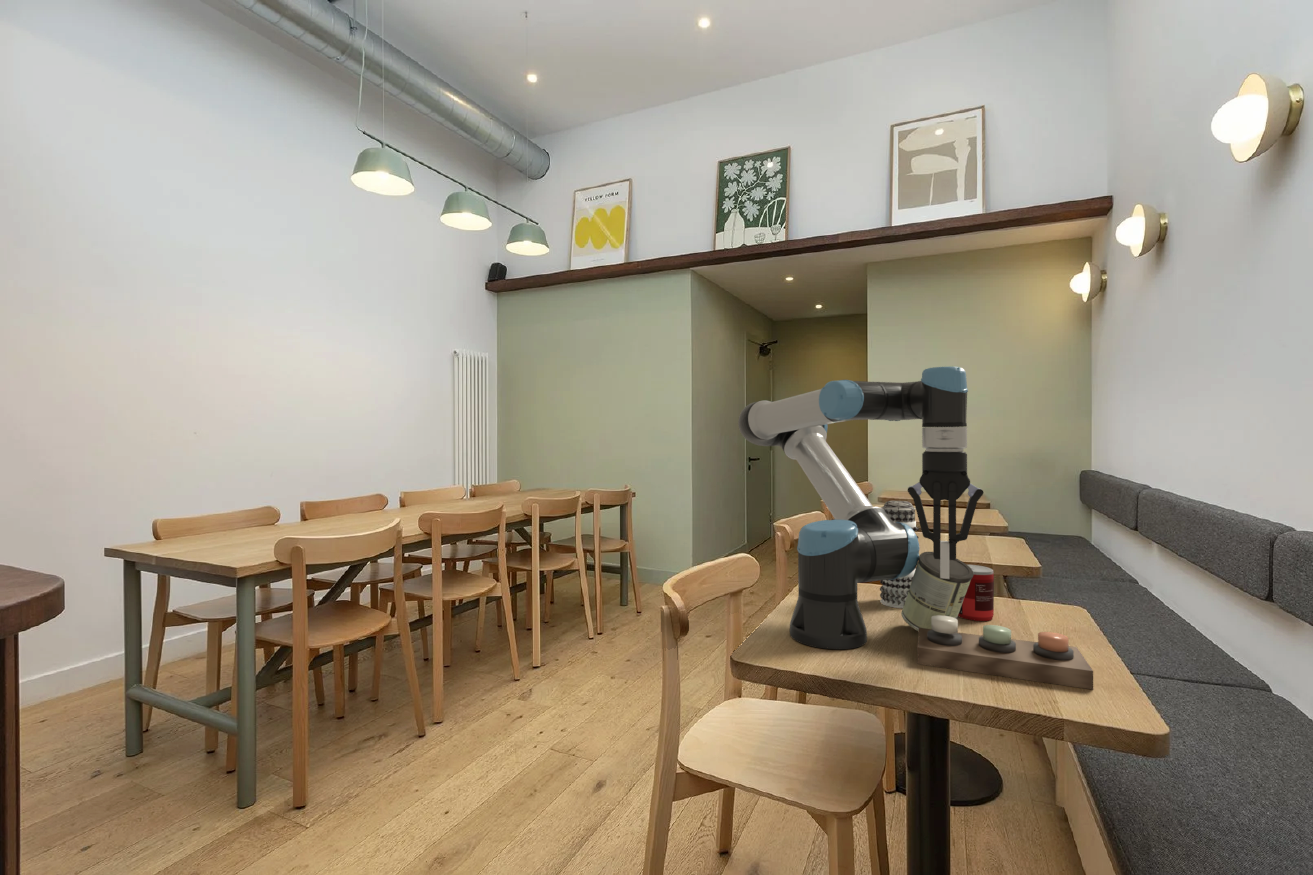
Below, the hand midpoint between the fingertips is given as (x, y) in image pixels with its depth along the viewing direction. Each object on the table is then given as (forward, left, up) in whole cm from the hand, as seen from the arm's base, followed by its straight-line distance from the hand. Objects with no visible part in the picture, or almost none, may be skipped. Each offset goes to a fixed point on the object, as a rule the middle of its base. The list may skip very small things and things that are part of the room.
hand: (944, 576), depth 110 cm
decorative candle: (-10, +34, -15) cm, 38 cm away
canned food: (+6, +30, -15) cm, 34 cm away
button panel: (+8, 0, -15) cm, 17 cm away
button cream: (0, 0, -10) cm, 10 cm away
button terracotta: (+17, 0, -11) cm, 20 cm away
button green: (+8, 0, -11) cm, 14 cm away
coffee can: (-3, +15, -13) cm, 20 cm away
